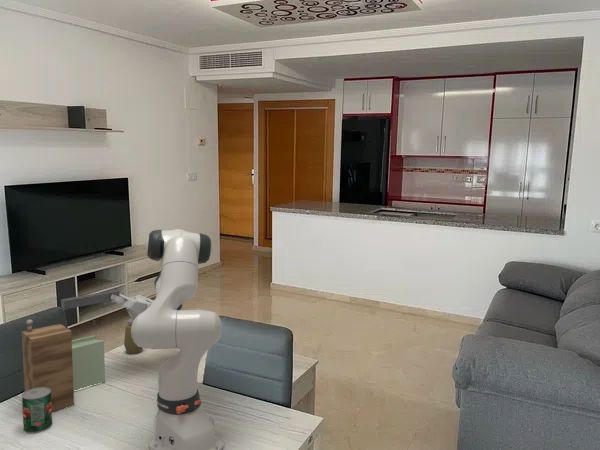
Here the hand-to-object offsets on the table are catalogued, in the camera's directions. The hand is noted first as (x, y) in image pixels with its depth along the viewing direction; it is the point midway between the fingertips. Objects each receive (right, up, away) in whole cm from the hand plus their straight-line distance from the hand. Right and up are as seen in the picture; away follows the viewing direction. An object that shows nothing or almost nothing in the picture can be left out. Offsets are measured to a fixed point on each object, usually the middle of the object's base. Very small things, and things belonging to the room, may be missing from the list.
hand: (108, 294), depth 181 cm
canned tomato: (-9, -36, -32) cm, 49 cm away
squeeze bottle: (0, -29, +29) cm, 42 cm away
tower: (-12, -34, -19) cm, 41 cm away
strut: (-4, -2, -4) cm, 7 cm away
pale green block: (-9, -33, -3) cm, 34 cm away
